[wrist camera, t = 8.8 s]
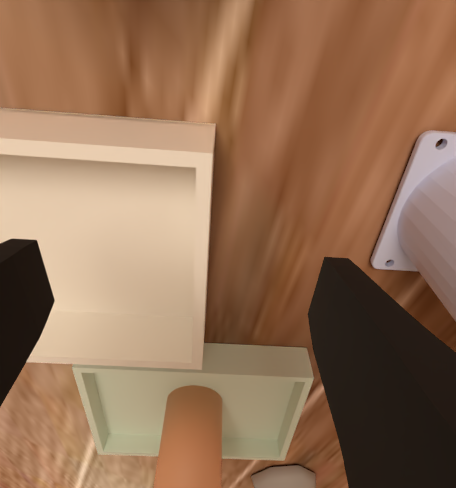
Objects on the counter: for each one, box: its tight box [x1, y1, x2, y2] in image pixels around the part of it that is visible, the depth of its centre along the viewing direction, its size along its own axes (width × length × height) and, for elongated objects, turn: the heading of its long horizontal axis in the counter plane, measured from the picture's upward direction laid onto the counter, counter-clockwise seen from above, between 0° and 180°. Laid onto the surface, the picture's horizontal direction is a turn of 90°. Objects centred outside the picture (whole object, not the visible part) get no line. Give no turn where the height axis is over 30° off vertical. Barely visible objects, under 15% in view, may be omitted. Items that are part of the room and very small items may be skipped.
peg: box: [153, 385, 222, 488], centre depth 24 cm, size 4×4×7 cm
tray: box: [72, 343, 314, 461], centre depth 27 cm, size 16×12×2 cm
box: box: [0, 108, 216, 370], centre depth 18 cm, size 13×13×4 cm
